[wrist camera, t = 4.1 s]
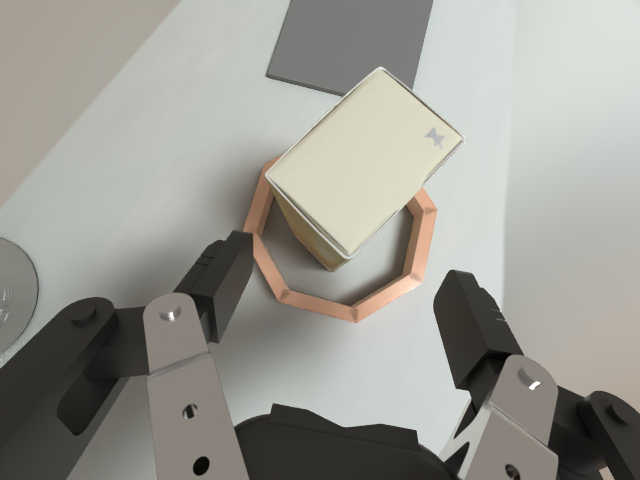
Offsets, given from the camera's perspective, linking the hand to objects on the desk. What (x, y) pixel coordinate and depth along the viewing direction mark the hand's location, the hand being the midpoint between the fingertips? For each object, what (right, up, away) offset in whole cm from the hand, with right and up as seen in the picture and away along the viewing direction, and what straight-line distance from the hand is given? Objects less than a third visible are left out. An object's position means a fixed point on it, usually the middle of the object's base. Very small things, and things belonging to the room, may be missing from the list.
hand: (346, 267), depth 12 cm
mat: (+2, +20, +13) cm, 24 cm away
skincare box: (0, +2, +10) cm, 10 cm away
